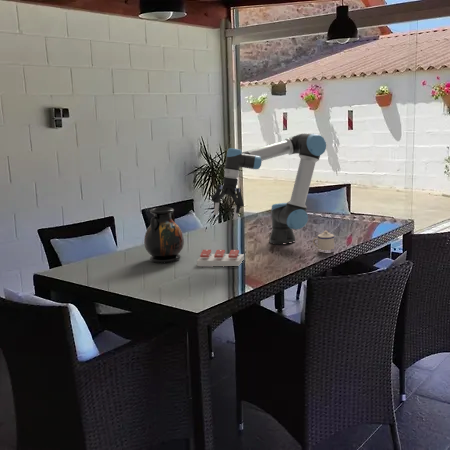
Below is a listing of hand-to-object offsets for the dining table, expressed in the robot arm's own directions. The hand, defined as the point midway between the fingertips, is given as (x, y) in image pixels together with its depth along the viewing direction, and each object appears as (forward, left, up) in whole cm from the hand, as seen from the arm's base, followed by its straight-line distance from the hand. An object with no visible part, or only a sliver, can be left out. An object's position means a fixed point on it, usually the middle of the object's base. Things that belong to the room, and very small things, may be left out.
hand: (225, 216), depth 314 cm
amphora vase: (+32, +9, -22) cm, 40 cm away
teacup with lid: (-51, -14, -22) cm, 57 cm away
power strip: (0, +13, -22) cm, 25 cm away
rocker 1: (+8, +14, -19) cm, 25 cm away
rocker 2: (0, +14, -19) cm, 23 cm away
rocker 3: (-7, +14, -19) cm, 24 cm away
